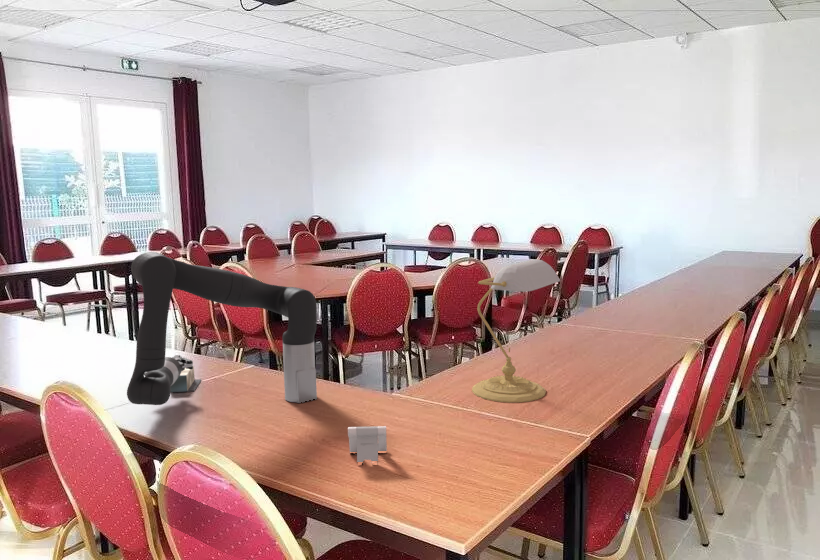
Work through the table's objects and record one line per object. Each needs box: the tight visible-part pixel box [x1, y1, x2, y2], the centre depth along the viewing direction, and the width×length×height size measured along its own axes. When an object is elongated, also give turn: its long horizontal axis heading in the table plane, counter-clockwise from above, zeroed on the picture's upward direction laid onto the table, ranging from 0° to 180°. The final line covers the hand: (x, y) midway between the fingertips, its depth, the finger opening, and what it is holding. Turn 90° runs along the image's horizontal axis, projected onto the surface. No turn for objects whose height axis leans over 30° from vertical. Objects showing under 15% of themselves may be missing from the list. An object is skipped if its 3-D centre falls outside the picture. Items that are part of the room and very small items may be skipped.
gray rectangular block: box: [178, 378, 202, 393], centre depth 208 cm, size 12×9×1 cm
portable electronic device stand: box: [347, 425, 388, 463], centre depth 150 cm, size 9×8×8 cm
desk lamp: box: [471, 258, 561, 404], centre depth 197 cm, size 31×23×40 cm
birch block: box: [170, 364, 196, 393], centre depth 207 cm, size 5×5×12 cm
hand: (177, 358), depth 202 cm, fingers closed
